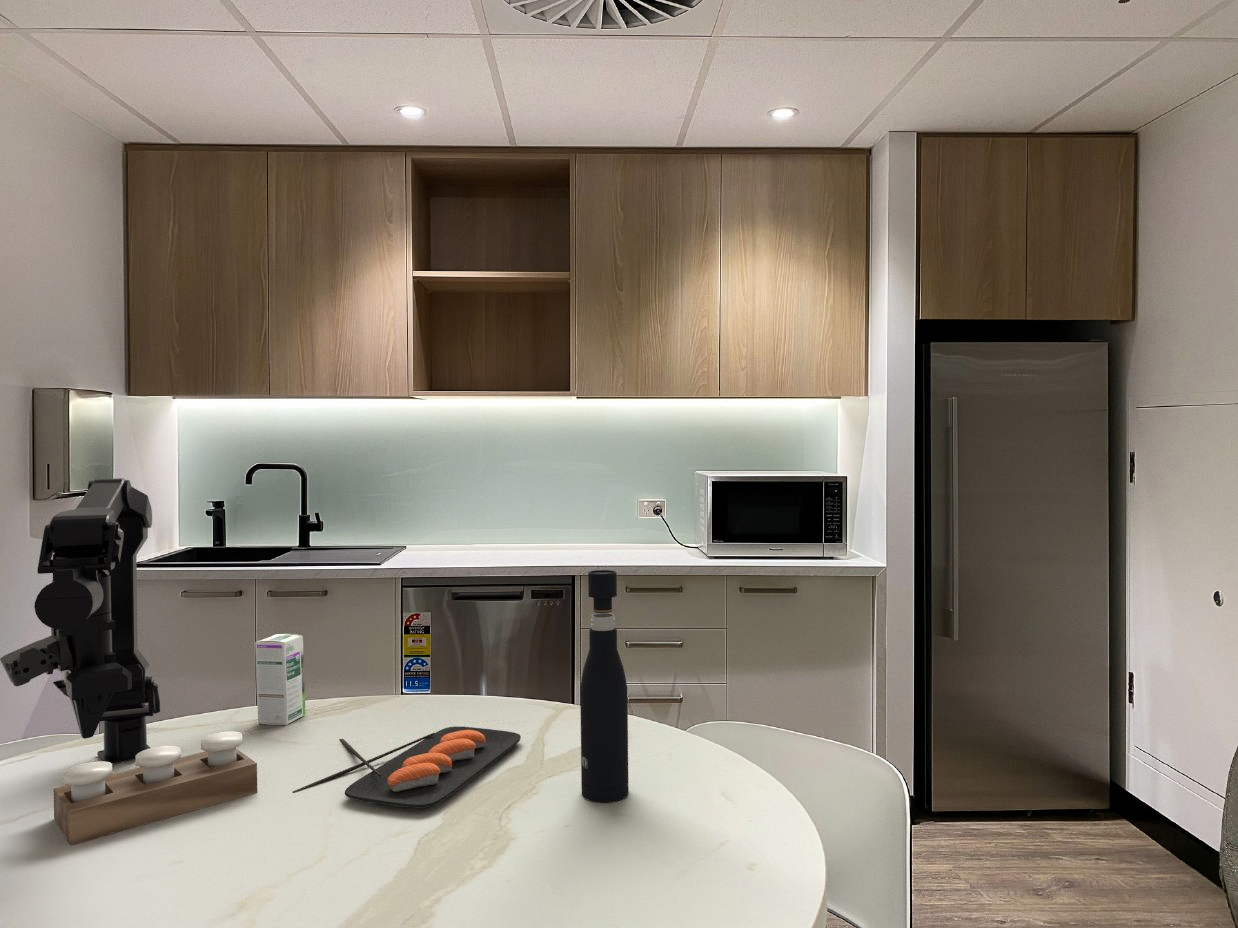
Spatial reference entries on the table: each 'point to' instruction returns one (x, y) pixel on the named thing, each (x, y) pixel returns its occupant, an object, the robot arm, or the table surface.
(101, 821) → the knob mount
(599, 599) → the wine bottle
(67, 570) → the robot arm
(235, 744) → the knob
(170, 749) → the knob middle
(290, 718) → the syrup box
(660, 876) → the table surface
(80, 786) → the knob
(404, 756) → the sushi plate
